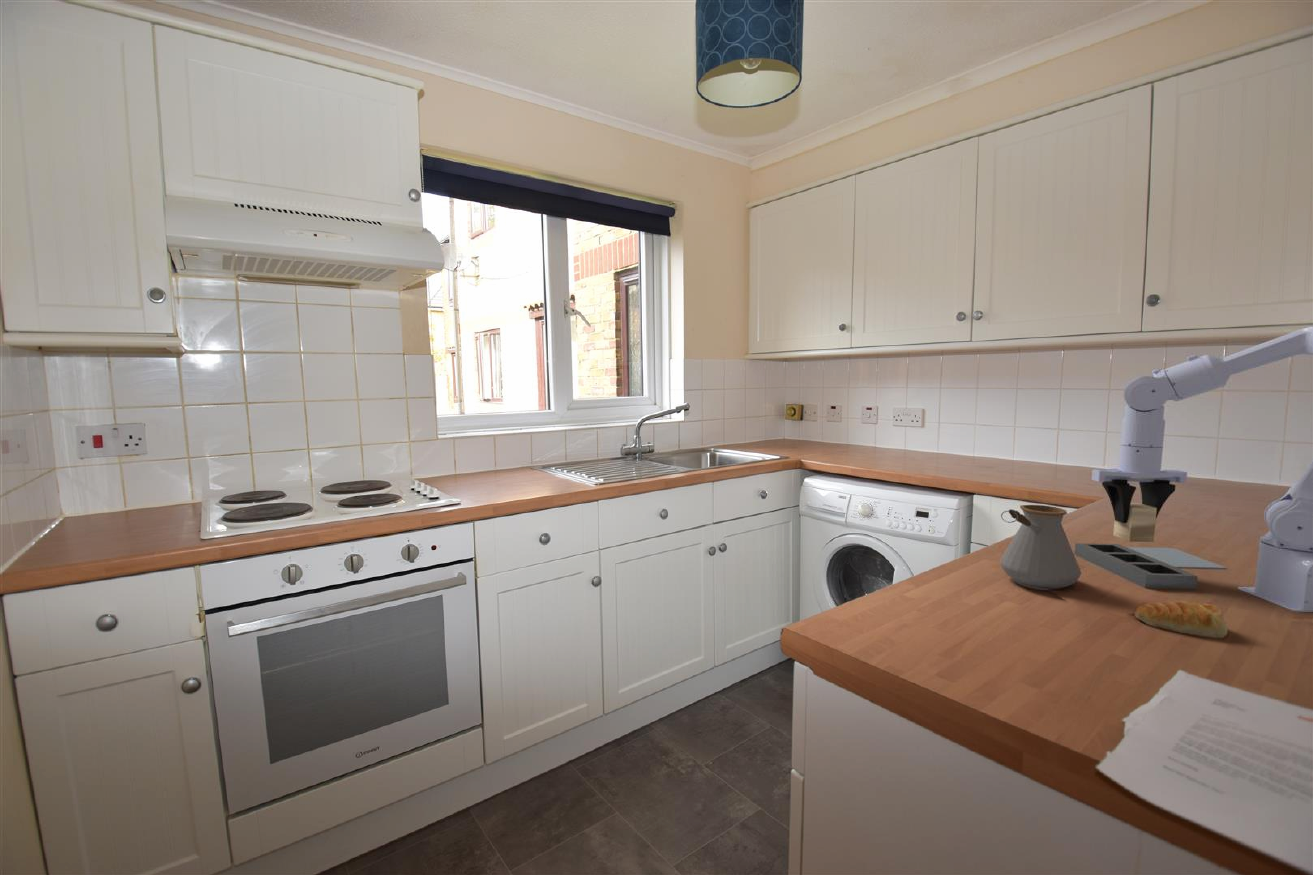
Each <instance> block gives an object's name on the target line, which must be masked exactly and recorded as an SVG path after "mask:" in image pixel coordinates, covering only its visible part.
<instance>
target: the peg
mask: <svg viewBox="0 0 1313 875" xmlns="http://www.w3.org/2000/svg"><path fill="white" fill-rule="evenodd" d="M1156 511H1157V508H1154V507H1151V506H1147V505H1144V504H1142V502H1141V503H1140V502H1131V504H1130V510H1129V518H1128V521H1127V523H1121V522H1118V521H1115V520H1114V523H1113V533H1112V534H1113V536H1114V537H1117V538H1119V539H1122V540H1124V541H1128V542H1130V543H1132V542H1137V543H1139V542H1140V543H1154V541H1155V531H1156V521H1157V518H1156Z"/></svg>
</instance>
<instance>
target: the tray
mask: <svg viewBox="0 0 1313 875" xmlns="http://www.w3.org/2000/svg"><path fill="white" fill-rule="evenodd" d="M1127 547H1128V546H1124V545H1121V544H1119V543H1084V542H1083V543H1082V542H1081V543H1080V542H1079V543H1077V542H1075V543H1074V552H1073V554H1074V556H1075V557H1078V558H1080V559H1082V560H1085V561H1087V562H1089V563H1091V564H1094V565H1096V566H1098V567H1099V568H1102V569H1103V570H1106V571H1108V572H1110V573H1112V574H1114V575H1116V576H1118V577H1120V578H1122V579H1124V580H1127V581H1129V582H1131V583H1133V584H1135V585H1138V586H1140V587H1141V588H1144V589H1163V590H1164V589H1165V590H1166V589H1167V590H1170V589H1171V590H1197V588H1198V586H1197V585H1198V575H1196V574H1193V573H1192V572H1189V571H1186V570H1184V569H1182V568H1177V567H1174V566H1172V565H1169V564H1167V563H1164V562H1162V561H1159V560H1157V559H1154V558H1152V557H1149V556H1147V555H1144V554H1142V553H1139V552H1137V551H1134V550H1132V549H1129V548H1127Z"/></svg>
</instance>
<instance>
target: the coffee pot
mask: <svg viewBox="0 0 1313 875" xmlns="http://www.w3.org/2000/svg"><path fill="white" fill-rule="evenodd" d="M1019 508H1020V510H1022V512H1023V514H1021V513H1020V511H1018V510H1014V509H1009V510H1004V511H1003V512H1002V513H1001V514H1000V517H1001V520H1002V521H1004V522H1006V523H1014V522H1018V523H1020V524H1021V525H1020V526H1019V528H1018V530H1017V531H1016V533H1015V535H1014V536H1013V538H1012V539H1011V541H1010V543H1009V545H1008V546H1007V548H1006V550H1005V551H1004V553H1003V554H1002V556H1001V558H1000V560H999V561H1000V565H1001V568H1002V570H1003V571H1004V572H1005V574H1006V575H1008V576H1009V577H1010V578H1011V580H1012V581H1013V582H1014V583H1016V584H1018V585H1020V586H1023V587H1026V588H1030V589H1034V590H1039V591H1046V592H1047V591H1048V592H1049V591H1050V592H1052V590H1059V589H1064V588H1066V587H1069V586H1071V585H1074V584H1076V583H1077V582H1078V580H1079V579H1080V577H1081V575H1082V571H1081V568H1080V566H1079V563H1078V561H1077V558H1076V555H1074V552H1073V549H1072V546H1071V543H1070V542H1069V540H1068V537H1067V535H1066V532H1065V530H1064V526H1063V524H1062V522H1063V518H1064V516H1065V515H1067V514H1068V511H1067V510H1066V509H1063V508H1059V507H1056V506H1050V505H1043V504H1041V505H1040V504H1022V505H1020V506H1019ZM1004 513H1009V515H1010V517H1011V518H1012V519H1014V520H1012V521H1008V520H1005V518H1003V515H1004Z"/></svg>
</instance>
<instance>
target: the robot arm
mask: <svg viewBox="0 0 1313 875" xmlns="http://www.w3.org/2000/svg"><path fill="white" fill-rule="evenodd" d="M1298 355H1306V356H1307V355H1313V326H1308V327H1304V328H1301V329H1298V330H1295V331H1293V332H1290V333H1287V334H1285V335H1281V336H1279V337H1276V338H1273V339H1271V340H1268V341H1265V342H1263V343H1260V344H1257V345H1253V346H1252V347H1248V348H1246V349H1244V350H1243V349H1242V350H1241V351H1237V352H1235V353H1232V354H1230V355H1227V356H1223V357H1217V356H1216V355H1215V356H1214V355H1212V354H1204V355H1201V356H1198V354H1194V355H1190V356H1187V358H1186V360H1187V361H1185V362H1181V363H1179V364H1176V365H1173V366H1170V367H1166V368H1164V369H1162V370H1161V369H1159V368H1157V369H1154V370H1152V371H1151V373H1152V375H1153V376H1151V375H1142V376H1139V377H1138V378H1136V379H1134V380H1132V381H1130V382H1129V383H1128V384H1127V385H1126V387H1125V388H1124V392H1123V398H1124V401H1125V403H1126V405H1125V407H1124V410H1123V414H1124V418H1122V423H1121V424H1122V425H1121V435H1120V450H1119V458H1118V460H1119V461H1118V467H1117V468H1105V469H1104V468H1101V469H1097V468H1096V469H1091V470H1092V471H1091V481H1096V482H1098V483H1102V484H1101V485H1102V487H1103V488H1104V491H1105V492H1106V494H1107V496H1108V498H1109V501H1110V505H1111V507H1112V511H1113V515H1114V521H1118V522H1121V523H1127V521H1128V518H1129V510H1130V504H1131V503H1132V500H1133V496H1134V494H1135V492H1136V490H1137V486H1134V485H1130V483H1129V482H1135V483H1136V482H1137V483H1138V484H1139V487H1140V494H1141V504H1144V505H1147V506H1151V507H1154V508H1157V511H1156V519H1157V518H1158V516H1159V514H1160V512H1161V510H1162V507H1163V506H1164V504H1165V503H1166V501H1167V500H1168V498H1169V497H1170V496H1171V495H1172V494H1173V493H1175V491H1176V485H1175V484H1173V483H1178V484H1180V483H1181V484H1187V481H1188V480H1187V477H1188V472H1187V471H1184V470H1177V469H1162V461H1163V452H1164V451H1163V450H1164V436H1165V427H1166V420H1165V419H1164V414H1165V404H1166V403H1167V401H1174V402H1179V401H1183V400H1185V399H1188V398H1192V397H1195V396H1198V395H1201V394H1204V393H1207V392H1210V391H1214V390H1218V389H1220V388H1223V387H1225V386H1226V384H1227V383H1228V381H1229V379H1230V378H1231V376H1232V375H1236V374H1239V373H1242V372H1245V371H1248V370H1252V369H1255V368H1259V367H1261V366H1265V365H1268V364H1269V365H1270V364H1271V363H1274V362H1278V361H1281V360H1284V359H1288V358H1291V357H1294V356H1298ZM1263 518H1264V521H1265V523H1266V525H1267V527H1268V529H1269V530H1268V532H1267V533H1266V534H1264V535H1261V536H1260V539H1259V545H1258V547H1259V548H1258V555H1257V563H1256V573H1255V581H1254V586H1238V587H1237V589H1238V590H1240V591H1242V592H1245V593H1248V594H1250V595H1252V596H1256V597H1257V598H1260V599H1262V600H1265V601H1267V602H1269V603H1272V604H1275V605H1277V606H1280V607H1283V608H1285V609H1286V610H1287V609H1288V610H1291V611H1294V612H1297V613H1298V612H1300V613H1301V612H1302V613H1303V612H1304V613H1313V459H1312V460H1311V461H1310V463H1309V465H1308V466H1307V468H1306V469H1305V470H1304V471H1303V474H1301V476H1300V478H1299V479H1298V480H1296V482H1295V483H1294V484H1293V485H1291V487H1289V489H1288V490H1287V491H1286V493H1285V494H1284V495H1283V496H1282V497H1280V498H1279V499H1277V500H1274V501H1272V502H1271V503H1270V504H1269V505H1268V506H1267V507H1266V508H1265V511H1264V516H1263Z"/></svg>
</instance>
